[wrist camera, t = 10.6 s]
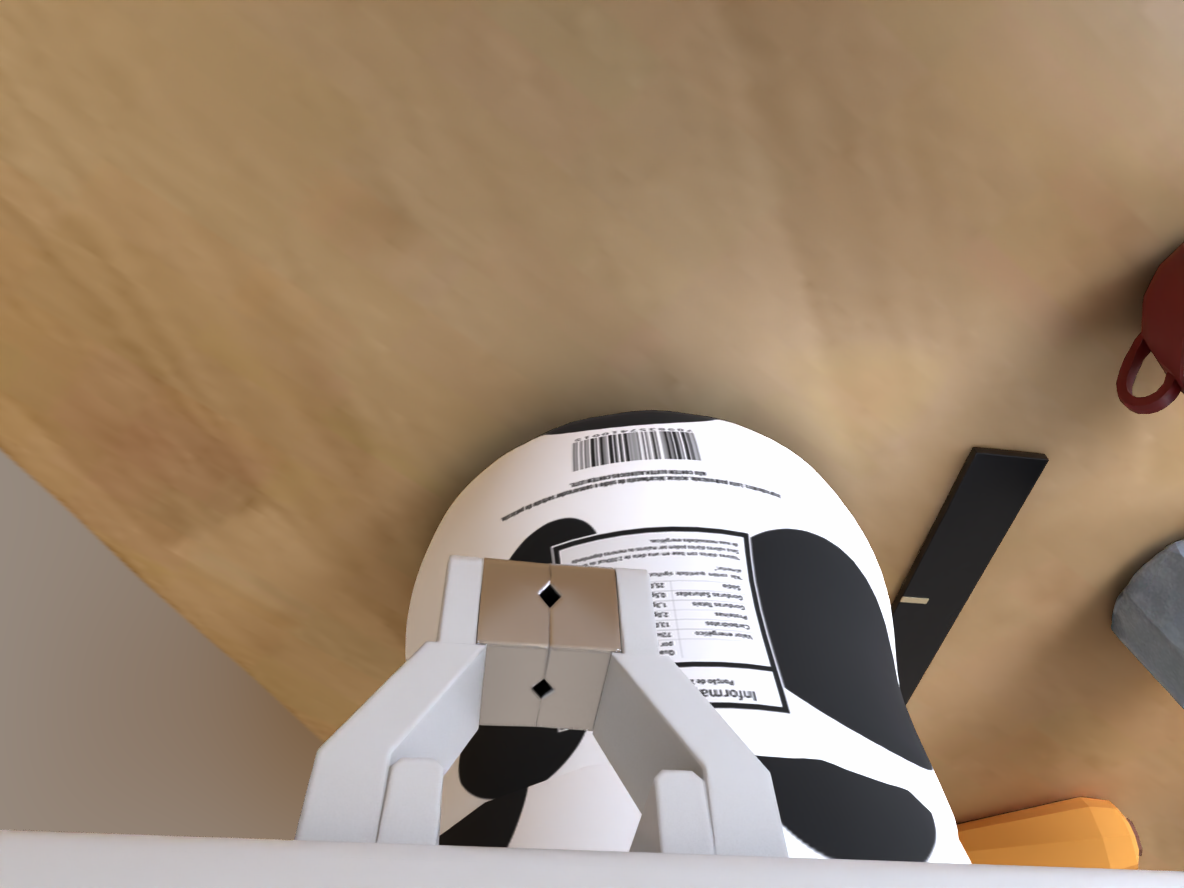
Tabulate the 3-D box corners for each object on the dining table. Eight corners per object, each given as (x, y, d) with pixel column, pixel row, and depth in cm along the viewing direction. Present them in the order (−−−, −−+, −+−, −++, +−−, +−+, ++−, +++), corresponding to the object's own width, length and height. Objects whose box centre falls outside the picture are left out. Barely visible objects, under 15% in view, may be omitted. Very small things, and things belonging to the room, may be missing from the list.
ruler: (972, 446, 32) (977, 453, 32) (1044, 453, 32) (1050, 460, 32) (784, 814, 47) (786, 822, 47) (835, 816, 47) (837, 824, 47)
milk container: (616, 729, 42) (652, 1207, 27) (334, 548, 34) (172, 1087, 19) (923, 552, 35) (1185, 1054, 21) (664, 276, 27) (796, 778, 13)
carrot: (1111, 774, 47) (1148, 832, 43) (1122, 840, 48) (1158, 903, 44) (760, 815, 52) (762, 870, 48) (777, 874, 53) (780, 933, 49)
